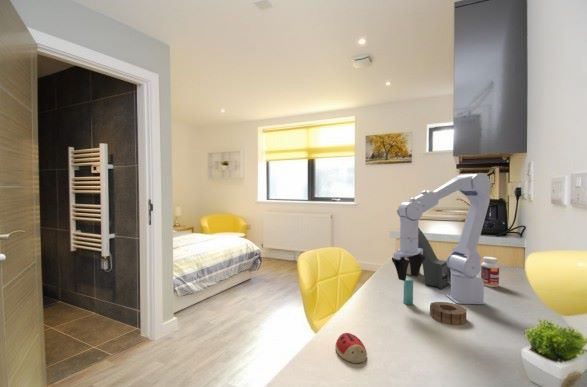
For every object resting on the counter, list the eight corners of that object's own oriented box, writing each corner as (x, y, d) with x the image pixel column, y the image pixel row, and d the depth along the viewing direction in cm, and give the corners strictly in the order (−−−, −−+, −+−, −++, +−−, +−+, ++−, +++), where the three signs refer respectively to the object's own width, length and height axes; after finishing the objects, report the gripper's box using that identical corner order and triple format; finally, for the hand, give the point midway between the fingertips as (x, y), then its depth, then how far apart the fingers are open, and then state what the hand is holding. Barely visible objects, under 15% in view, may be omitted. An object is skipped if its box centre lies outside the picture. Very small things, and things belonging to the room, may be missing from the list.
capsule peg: (411, 301, 104) (411, 278, 104) (414, 305, 101) (414, 281, 101) (402, 301, 104) (402, 278, 104) (405, 304, 101) (405, 280, 101)
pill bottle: (492, 288, 119) (492, 260, 119) (477, 283, 125) (477, 256, 124) (502, 286, 121) (503, 258, 121) (487, 282, 127) (487, 255, 127)
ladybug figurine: (345, 367, 66) (346, 351, 66) (329, 344, 75) (329, 330, 75) (373, 363, 67) (374, 347, 67) (354, 341, 77) (354, 327, 77)
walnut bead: (456, 311, 96) (456, 302, 96) (473, 325, 86) (473, 314, 86) (425, 310, 96) (425, 301, 96) (438, 324, 86) (438, 313, 86)
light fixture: (410, 275, 136) (410, 221, 135) (451, 284, 124) (452, 224, 123) (399, 280, 128) (399, 223, 128) (442, 290, 116) (443, 226, 116)
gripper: (410, 234, 110) (409, 271, 110) (385, 238, 101) (385, 278, 101) (428, 236, 104) (428, 276, 104) (405, 241, 95) (404, 284, 95)
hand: (408, 278), depth 102 cm, fingers open, 7 cm apart
